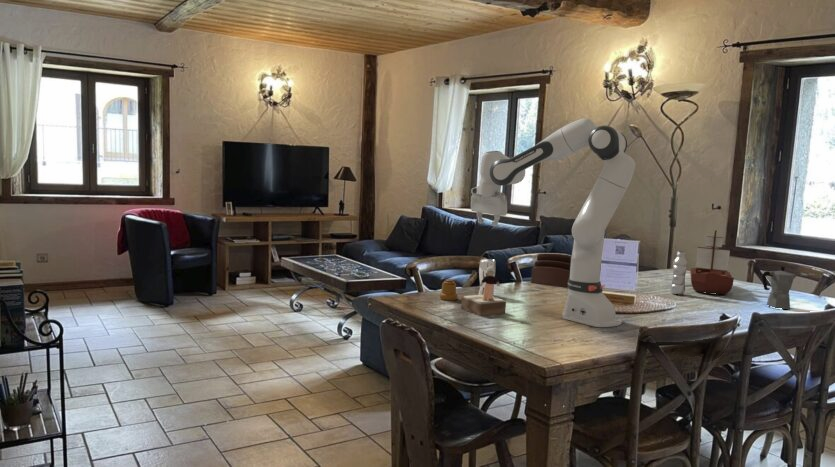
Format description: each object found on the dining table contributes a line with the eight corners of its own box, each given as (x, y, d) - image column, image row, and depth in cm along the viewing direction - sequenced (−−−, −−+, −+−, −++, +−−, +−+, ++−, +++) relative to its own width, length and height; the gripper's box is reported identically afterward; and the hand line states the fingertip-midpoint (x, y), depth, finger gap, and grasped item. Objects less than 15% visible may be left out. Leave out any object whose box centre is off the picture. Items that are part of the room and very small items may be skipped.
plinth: (505, 313, 244) (506, 300, 243) (479, 316, 238) (480, 302, 237) (485, 306, 254) (486, 293, 253) (461, 308, 248) (461, 296, 247)
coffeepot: (786, 305, 283) (791, 265, 281) (799, 310, 274) (804, 269, 272) (752, 304, 283) (756, 263, 281) (764, 309, 273) (769, 267, 271)
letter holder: (535, 279, 316) (537, 251, 314) (576, 285, 308) (578, 256, 306) (530, 283, 307) (532, 254, 305) (572, 288, 299) (574, 258, 297)
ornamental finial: (447, 301, 259) (435, 298, 265) (461, 300, 263) (449, 296, 269) (448, 282, 258) (436, 278, 264) (462, 280, 262) (450, 277, 268)
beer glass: (493, 297, 271) (495, 262, 269) (476, 295, 272) (478, 260, 271) (494, 293, 278) (496, 259, 276) (478, 292, 279) (480, 258, 277)
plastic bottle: (685, 294, 297) (690, 251, 295) (683, 296, 291) (687, 253, 289) (671, 292, 301) (675, 250, 298) (668, 294, 295) (672, 251, 292)
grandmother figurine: (482, 301, 240) (484, 267, 238) (477, 299, 243) (479, 266, 242) (500, 300, 243) (502, 267, 241) (495, 298, 246) (497, 265, 245)
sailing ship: (689, 294, 298) (696, 231, 295) (688, 280, 335) (694, 224, 332) (732, 299, 292) (739, 235, 288) (726, 284, 329) (732, 227, 325)
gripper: (512, 192, 254) (509, 227, 256) (480, 189, 272) (478, 221, 273) (499, 192, 251) (497, 227, 253) (468, 189, 268) (466, 221, 270)
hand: (487, 224), depth 263 cm, fingers open, 8 cm apart
